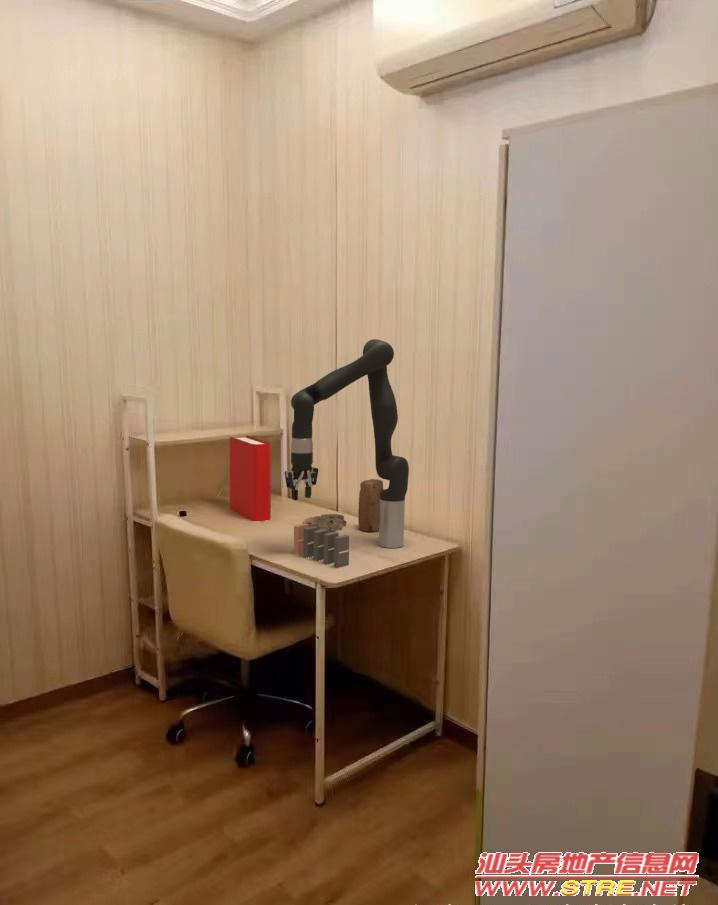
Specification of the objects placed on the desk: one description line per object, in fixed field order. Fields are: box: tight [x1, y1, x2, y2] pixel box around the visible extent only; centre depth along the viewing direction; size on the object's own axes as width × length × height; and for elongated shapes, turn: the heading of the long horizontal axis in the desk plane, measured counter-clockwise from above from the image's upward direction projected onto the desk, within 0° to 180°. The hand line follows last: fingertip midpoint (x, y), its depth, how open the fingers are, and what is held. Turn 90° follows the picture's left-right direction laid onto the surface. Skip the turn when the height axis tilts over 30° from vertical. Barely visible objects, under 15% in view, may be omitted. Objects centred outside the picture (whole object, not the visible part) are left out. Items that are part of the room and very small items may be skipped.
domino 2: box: [303, 526, 318, 559], centre depth 253 cm, size 2×5×10 cm, turn 136°
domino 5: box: [333, 534, 350, 568], centre depth 243 cm, size 2×5×10 cm, turn 137°
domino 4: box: [322, 531, 340, 565], centre depth 246 cm, size 2×5×10 cm, turn 136°
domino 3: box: [312, 529, 328, 562], centre depth 250 cm, size 2×5×10 cm, turn 137°
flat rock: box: [301, 513, 347, 533], centre depth 293 cm, size 14×5×20 cm
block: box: [357, 478, 384, 533], centre depth 290 cm, size 11×8×20 cm
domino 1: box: [293, 523, 308, 556], centre depth 257 cm, size 2×5×10 cm, turn 137°
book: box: [229, 435, 272, 522], centre depth 310 cm, size 27×8×32 cm, turn 31°
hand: (301, 498), depth 254 cm, fingers open, 5 cm apart
